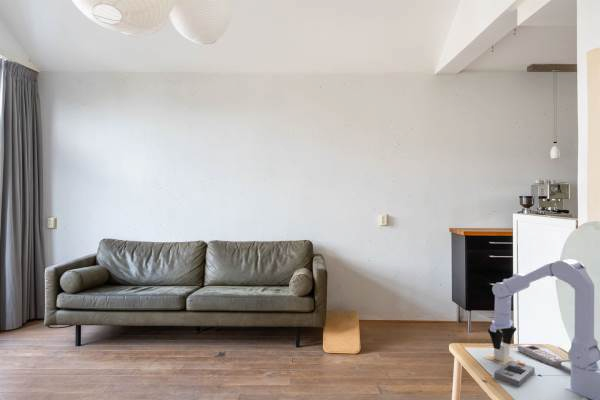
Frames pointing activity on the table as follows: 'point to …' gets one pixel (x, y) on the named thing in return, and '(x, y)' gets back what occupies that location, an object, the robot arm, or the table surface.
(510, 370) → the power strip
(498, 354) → the white rectangular block
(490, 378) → the table surface
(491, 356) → the cork coaster
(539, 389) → the table surface
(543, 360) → the mobile phone
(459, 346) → the table surface
